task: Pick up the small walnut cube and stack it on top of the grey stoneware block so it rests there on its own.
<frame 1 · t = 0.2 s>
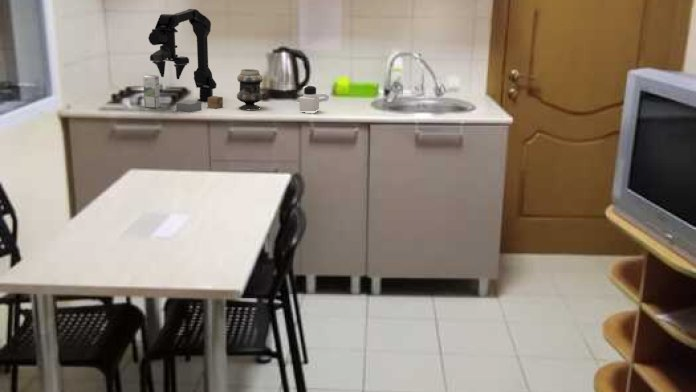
hand: (170, 78, 336), 14 cm above the table, tool pointing down, fingers open, 9 cm apart
stoneware block: (189, 110, 341), on the table
syrup box: (152, 107, 345), on the table
medicine bottle: (309, 112, 346), on the table
walnut cube: (215, 107, 349), on the table
apothecary jar: (249, 108, 350), on the table
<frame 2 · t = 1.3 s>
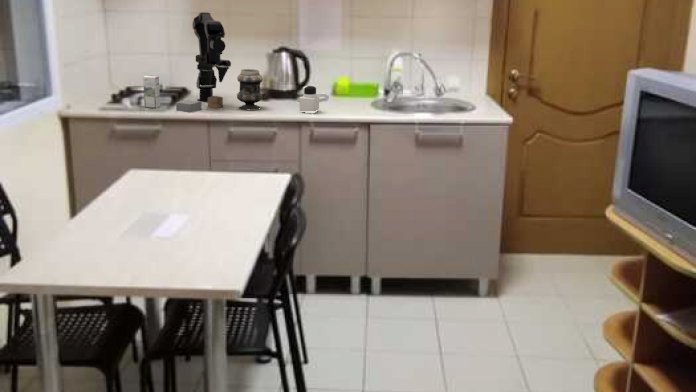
hand: (214, 83, 345), 11 cm above the table, tool pointing down, fingers open, 9 cm apart
nothing on the table moved.
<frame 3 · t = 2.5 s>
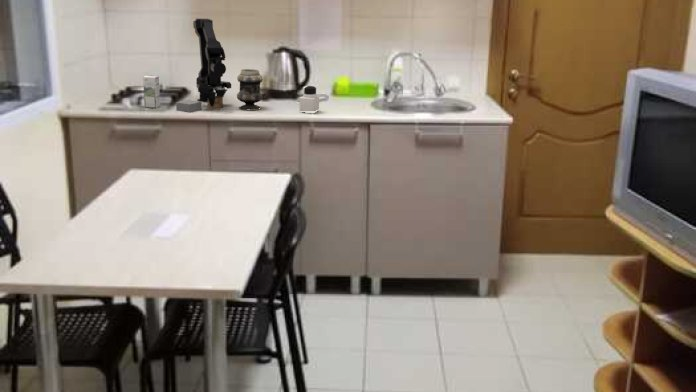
hand: (215, 105, 348), 1 cm above the table, tool pointing down, fingers closed on walnut cube, 5 cm apart
walnut cube: (215, 107, 349), on the table, touching gripper
everything else where it was.
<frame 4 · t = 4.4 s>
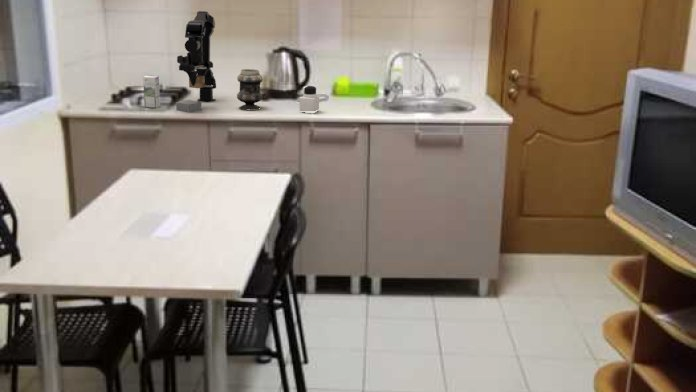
hand: (196, 84, 339), 11 cm above the table, tool pointing down, fingers closed on walnut cube, 5 cm apart
walnut cube: (197, 87, 340), point 10 cm above the table, touching gripper
everything else where it was.
when the fingers open (6 cm above the table, at t = 5.8 s): walnut cube drops 2 cm, resting on stoneware block.
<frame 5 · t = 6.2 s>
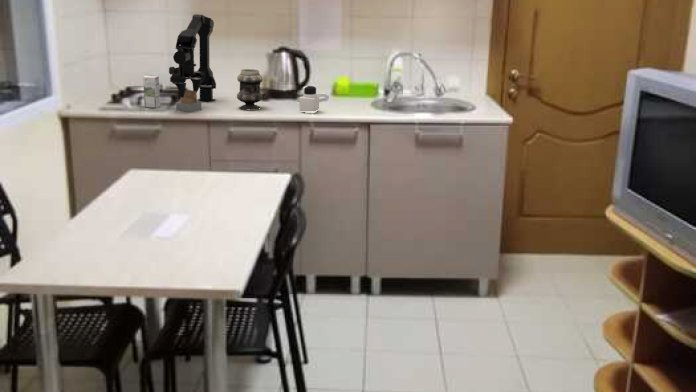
hand: (188, 95, 339), 6 cm above the table, tool pointing down, fingers open, 9 cm apart
stoneware block: (189, 110, 341), on the table, touching walnut cube
walnut cube: (189, 102, 340), point 4 cm above the table, touching stoneware block
everything else where it was.
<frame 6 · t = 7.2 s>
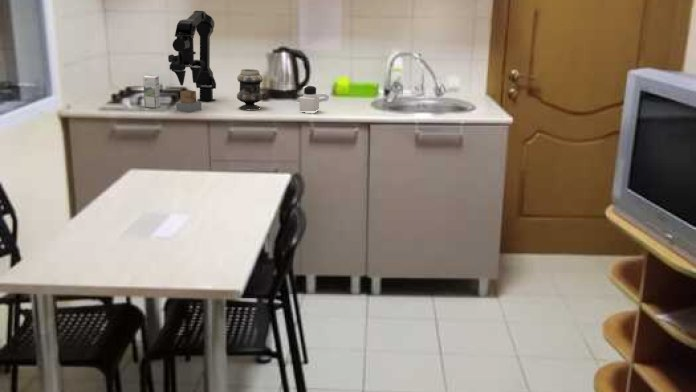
hand: (188, 84, 337), 12 cm above the table, tool pointing down, fingers open, 9 cm apart
stoneware block: (189, 110, 341), on the table
walnut cube: (188, 102, 339), point 4 cm above the table
everything else where it was.
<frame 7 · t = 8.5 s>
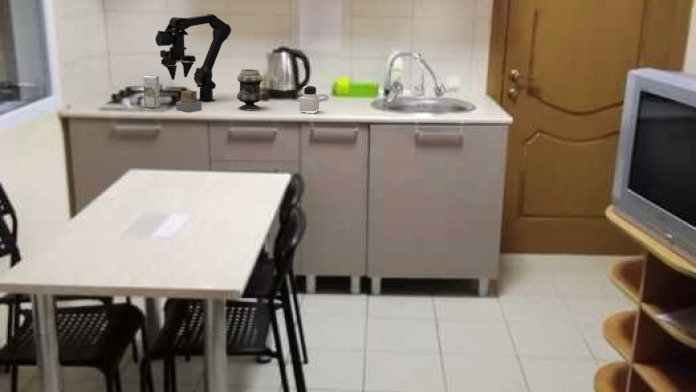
hand: (179, 78, 351), 12 cm above the table, tool pointing down, fingers open, 9 cm apart
nothing on the table moved.
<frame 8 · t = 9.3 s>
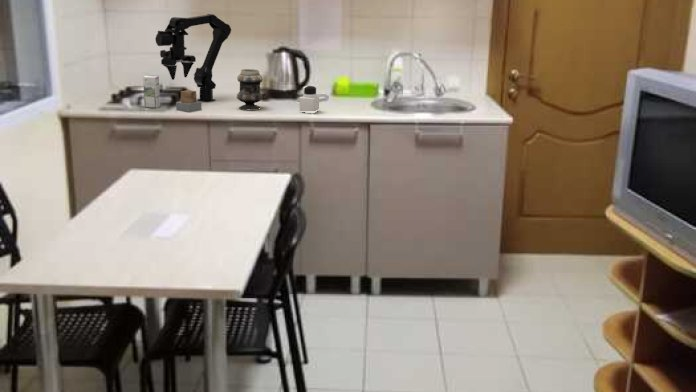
hand: (179, 78, 351), 12 cm above the table, tool pointing down, fingers open, 9 cm apart
stoneware block: (189, 110, 341), on the table, touching walnut cube
walnut cube: (188, 102, 340), point 4 cm above the table, touching stoneware block
everything else where it was.
at the end: walnut cube 0.2 cm off-centre on the stoneware block, point 4.0 cm above the stoneware block's base; the gripper is holding nothing; stoneware block moved 0.4 cm from its start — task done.
